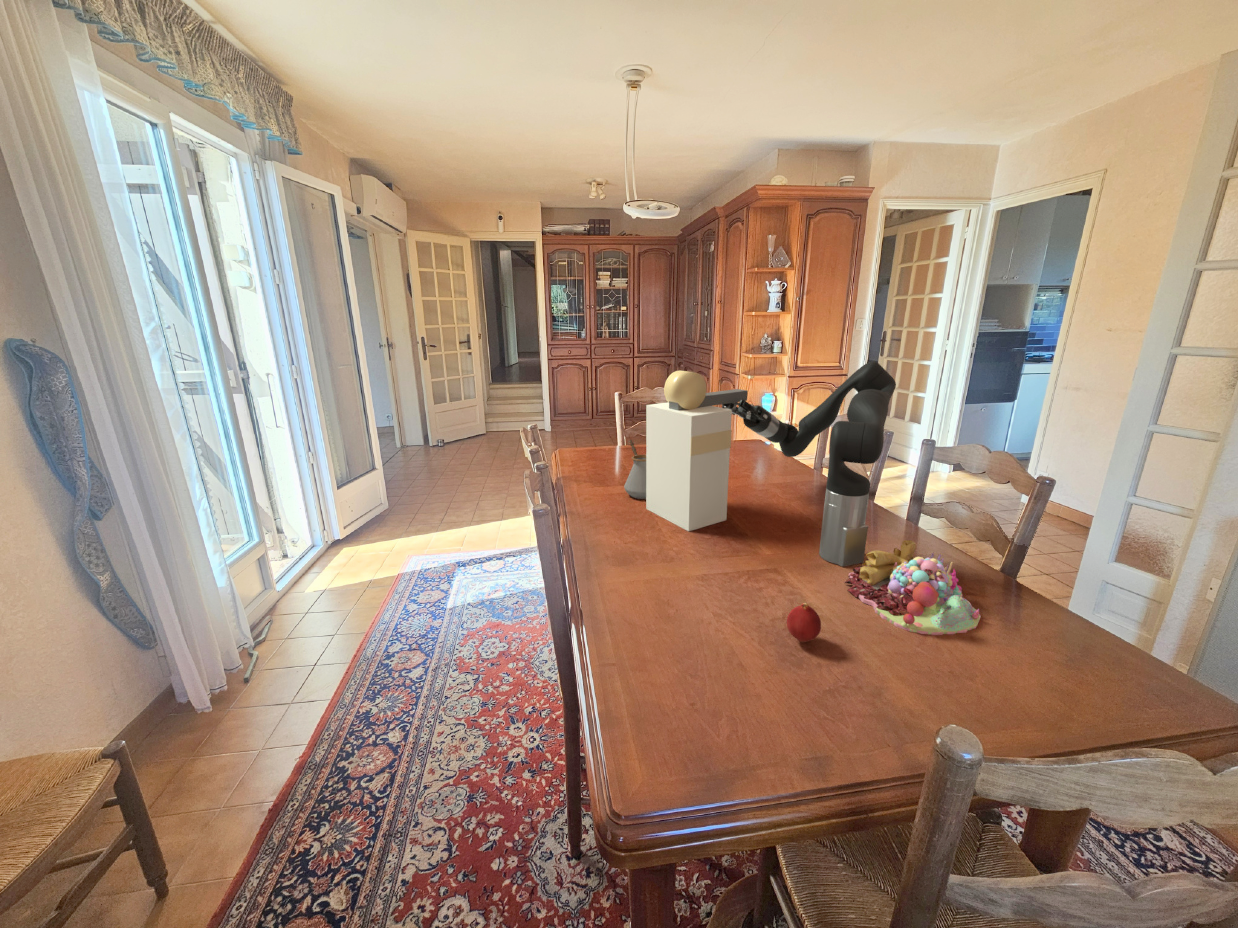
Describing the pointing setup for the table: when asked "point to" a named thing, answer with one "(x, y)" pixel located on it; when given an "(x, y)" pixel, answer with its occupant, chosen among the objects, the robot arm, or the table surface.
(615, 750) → the table surface
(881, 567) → the candy landscape model
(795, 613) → the onion
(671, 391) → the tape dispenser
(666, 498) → the tall box
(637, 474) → the coffee pot
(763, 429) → the robot arm
